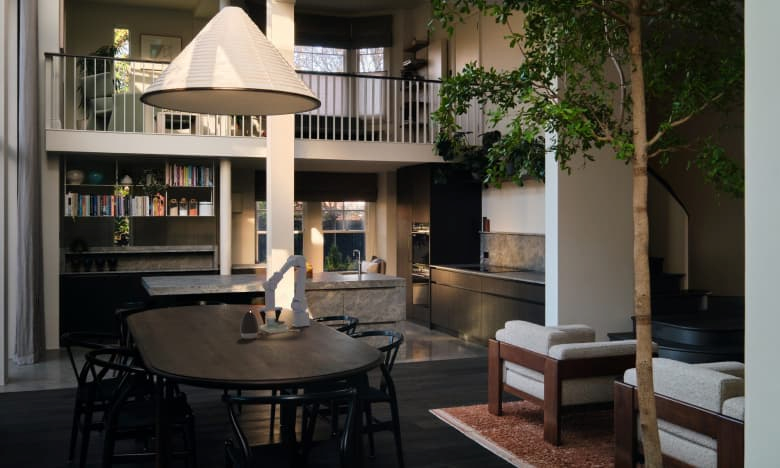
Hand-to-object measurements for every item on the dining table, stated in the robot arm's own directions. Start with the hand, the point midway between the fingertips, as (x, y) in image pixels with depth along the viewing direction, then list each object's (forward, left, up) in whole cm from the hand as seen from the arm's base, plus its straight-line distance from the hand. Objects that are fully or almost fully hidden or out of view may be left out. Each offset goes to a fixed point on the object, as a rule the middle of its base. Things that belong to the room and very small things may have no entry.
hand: (270, 323), depth 422 cm
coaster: (-12, +10, -4) cm, 16 cm away
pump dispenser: (+19, +20, -5) cm, 28 cm away
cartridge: (0, 0, -2) cm, 2 cm away
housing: (-2, 0, -4) cm, 5 cm away
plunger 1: (-5, -6, -2) cm, 7 cm away
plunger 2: (-5, +5, -1) cm, 7 cm away
